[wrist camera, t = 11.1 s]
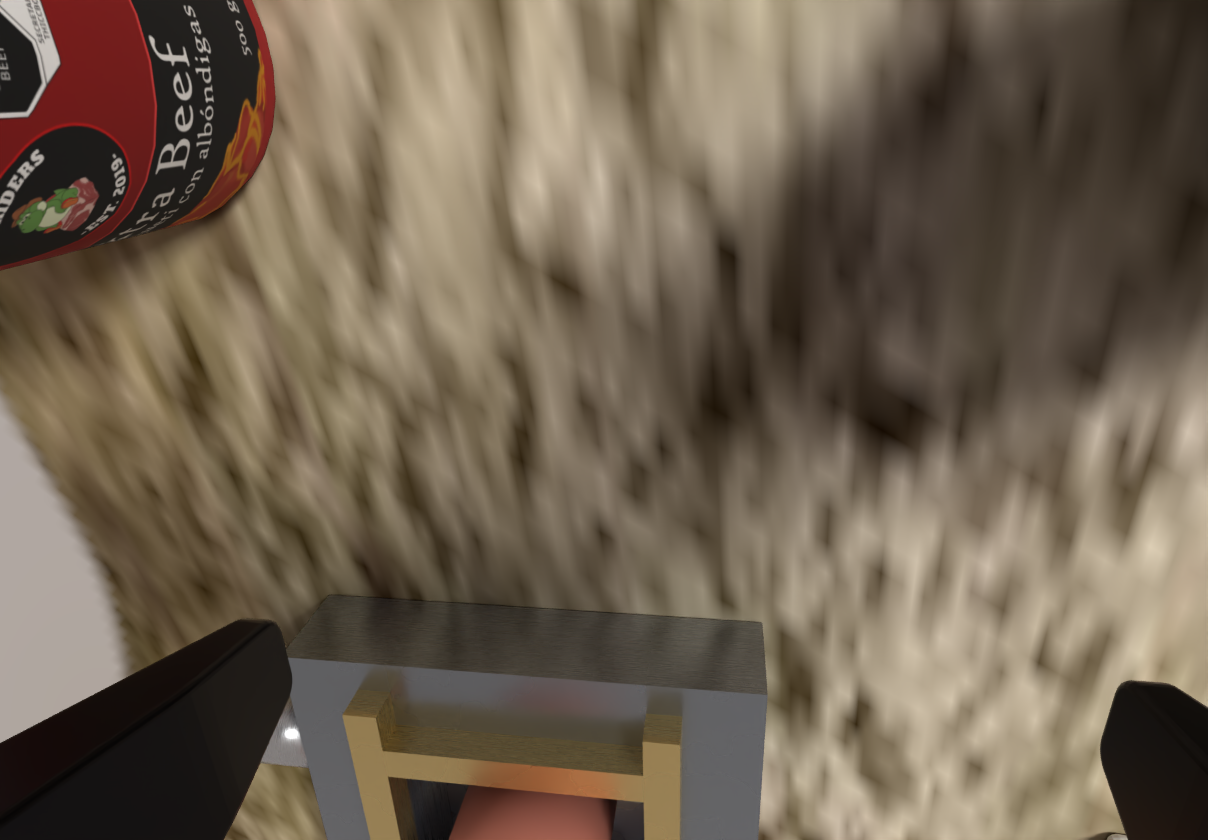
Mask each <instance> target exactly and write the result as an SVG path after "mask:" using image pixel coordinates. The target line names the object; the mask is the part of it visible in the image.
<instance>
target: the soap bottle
mask: <svg viewBox="0 0 1208 840" xmlns="http://www.w3.org/2000/svg"><path fill="white" fill-rule="evenodd" d="M1107 840H1128V839H1127V836H1126V835H1120V834H1112V835H1110V836H1108V838H1107Z"/></svg>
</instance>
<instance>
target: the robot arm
mask: <svg viewBox="0 0 1208 840" xmlns="http://www.w3.org/2000/svg"><path fill="white" fill-rule="evenodd" d="M291 689H292V672H291V668H290V664H289V660H288V656H287V652H286V648H285V644H284V640H283V636H282V632H281V629H280V627H279V626H278V625H277V623H276V622H274V621H271V620H263V619H248V618H246V619H239V620H236V621H234V622H232V623H230V624H228V625H227V626H225V627H223V628H221V629H219V630H217V631H215V632H213V633H211V634H209V635H207V636H205V637H203V638H202V639H200V640H198V641H196V642H194V643H192V644H190V645H188V646H186V647H184V648H182V649H180V650H178V651H177V652H175V653H173V654H171V655H169V656H167V657H165V658H163V659H161V660H159V661H157V662H155V663H153V664H152V665H150V666H148V667H146V668H144V669H142V670H140V671H138V672H136V673H134V674H132V675H130V676H128V677H126V678H125V679H123V680H121V681H119V682H117V683H115V684H113V685H111V686H109V687H107V688H105V689H104V690H101V691H100V692H98V693H96V694H94V695H92V696H90V697H88V698H86V699H84V700H82V701H80V702H78V703H76V704H75V705H73V706H71V707H69V708H67V709H65V710H63V711H61V712H59V713H57V714H55V715H53V716H52V717H49V718H48V719H46V720H44V721H42V722H40V723H38V724H36V725H34V726H33V727H31V728H28V729H26V730H25V731H23V732H21V733H19V734H17V735H15V736H13V737H11V738H9V739H7V740H5V741H3V742H1V743H0V840H224V838H225V836H226V834H227V832H228V831H229V829H230V827H231V825H232V823H233V821H234V819H235V817H236V815H237V813H238V811H239V809H240V807H241V804H242V802H243V800H244V798H245V796H246V793H247V791H248V789H249V787H250V784H251V782H252V780H253V778H254V776H255V773H256V771H257V769H258V767H259V764H260V762H261V760H262V758H263V755H264V753H265V751H266V749H267V746H268V744H269V742H270V740H271V737H272V735H273V733H274V731H275V728H276V726H277V724H278V722H279V719H280V717H281V715H282V713H283V710H284V708H285V706H286V704H287V702H288V699H289V696H290V693H291ZM1100 754H1101V761H1102V766H1103V769H1104V772H1105V775H1106V778H1107V781H1108V784H1109V787H1110V790H1111V792H1112V795H1113V798H1114V801H1115V804H1116V807H1117V810H1118V813H1119V816H1120V819H1121V822H1122V824H1123V827H1124V830H1125V833H1126V836H1127V839H1128V840H1208V707H1206V706H1205V705H1203V704H1202V703H1200V702H1199V701H1197V700H1196V699H1194V698H1192V697H1191V696H1189V695H1188V694H1186V693H1185V692H1183V691H1182V690H1180V689H1178V688H1177V687H1175V686H1173V685H1170V684H1167V683H1161V682H1146V681H1132V680H1131V681H1126V682H1123V683H1121V684H1120V686H1119V687H1118V688H1117V690H1116V693H1115V696H1114V699H1113V702H1112V706H1111V709H1110V712H1109V715H1108V719H1107V722H1106V725H1105V729H1104V732H1103V735H1102V739H1101V745H1100Z"/></svg>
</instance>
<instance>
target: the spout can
mask: <svg viewBox="0 0 1208 840" xmlns="http://www.w3.org/2000/svg"><path fill="white" fill-rule="evenodd" d="M616 805H617V800H614V799H605V798H595V797H585V796H575V795H565V794H555V793H545V792H535V791H525V790H515V789H505V788H495V787H486V786H476V785H469V786H468V788H467V791H466V794H465V797H464V799H463V802H462V805H461V808H460V810H459V813H458V816H457V818H456V821H455V824H454V827H453V829H452V832H451V835H450V837H449V840H611V839H612V832H613V825H614V818H615V812H616Z"/></svg>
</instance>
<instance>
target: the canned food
mask: <svg viewBox="0 0 1208 840" xmlns="http://www.w3.org/2000/svg"><path fill="white" fill-rule="evenodd" d="M274 108H275V86H274V72H273V64H272V60H271V56H270V52H269V47H268V43H267V39H266V35H265V32H264V29H263V27H262V24H261V22H260V19H259V17H258V14H257V12H256V9H255V7H254V4H253V2H252V0H0V270H4V269H8V268H12V267H16V266H20V265H24V264H28V263H31V262H35V261H39V260H43V259H47V258H51V257H55V256H59V255H63V254H67V253H71V252H74V251H78V250H82V249H86V248H90V247H94V246H98V245H102V244H106V243H110V242H113V241H117V240H121V239H125V238H129V237H133V236H137V235H141V234H145V233H149V232H153V231H156V230H160V229H164V228H168V227H172V226H176V225H180V224H183V223H187V222H190V221H194V220H198V219H201V218H203V217H205V216H206V215H208V214H210V213H211V212H213V211H215V210H217V209H218V208H220V207H222V206H223V205H224V204H225V203H226V202H227V201H228V200H229V199H230V198H231V197H232V196H233V195H234V194H235V193H236V192H237V191H238V190H239V189H240V188H241V187H242V186H243V185H244V184H245V183H246V182H247V181H248V180H249V179H250V178H251V177H252V175H253V173H254V172H255V170H256V168H257V167H258V165H259V163H260V161H261V160H262V158H263V156H264V154H265V151H266V148H267V144H268V141H269V138H270V135H271V132H272V128H273V118H274Z"/></svg>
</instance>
